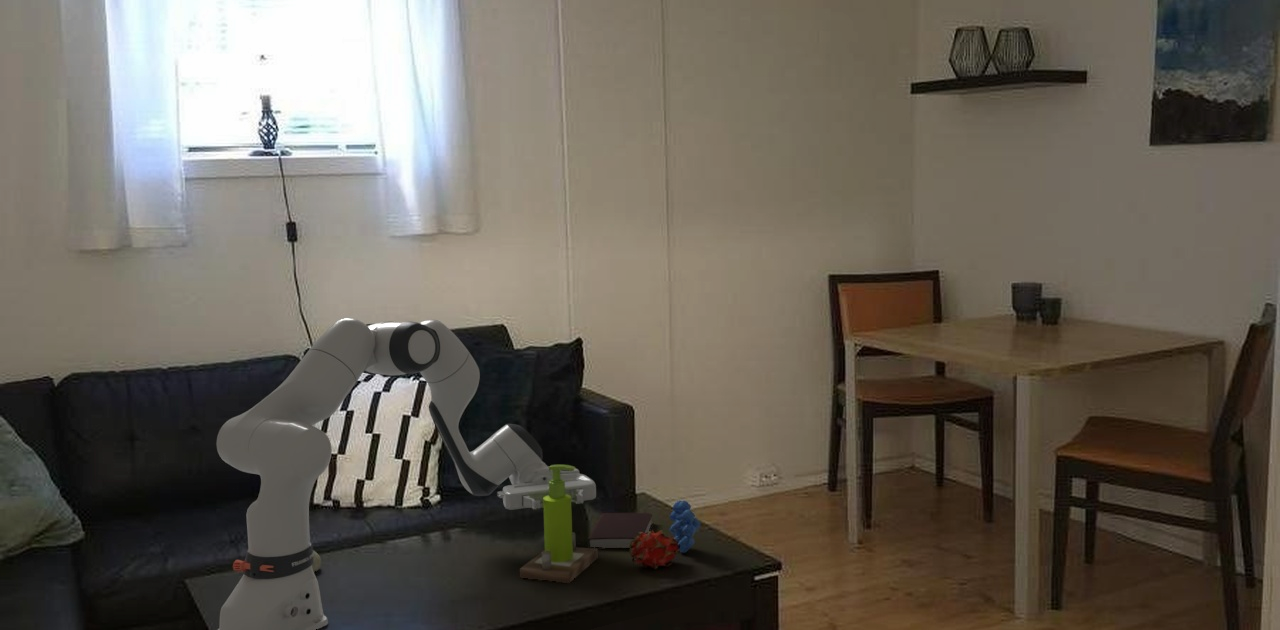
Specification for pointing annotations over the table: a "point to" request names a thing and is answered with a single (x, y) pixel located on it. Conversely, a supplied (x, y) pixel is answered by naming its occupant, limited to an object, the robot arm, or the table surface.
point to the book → (618, 529)
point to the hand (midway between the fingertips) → (558, 502)
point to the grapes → (684, 525)
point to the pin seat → (559, 565)
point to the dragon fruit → (653, 549)
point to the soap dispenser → (558, 517)
